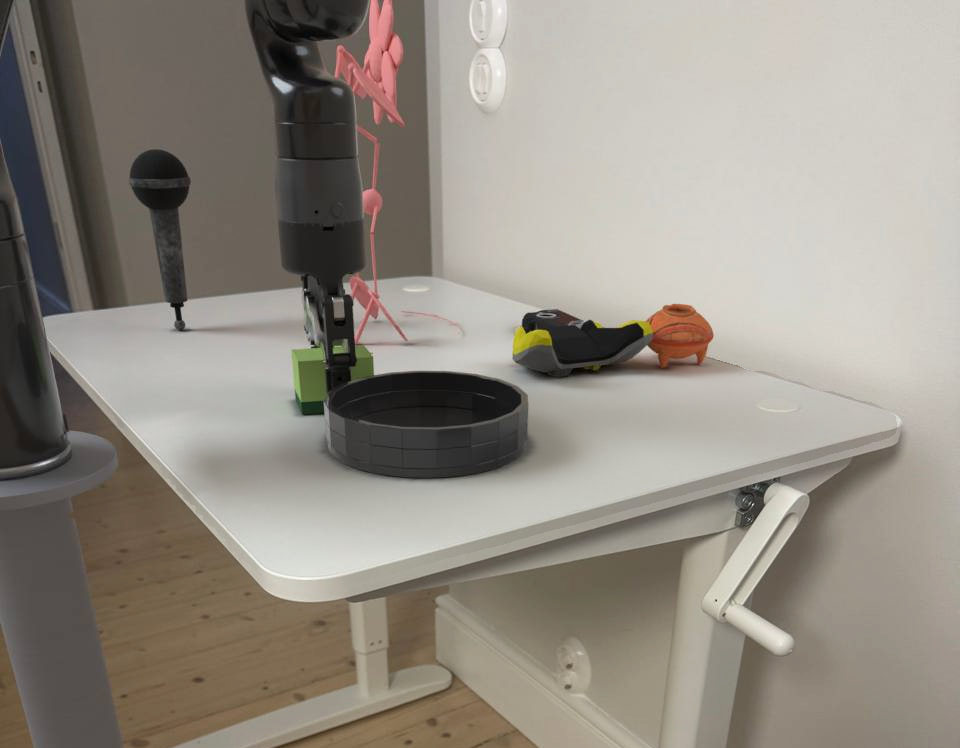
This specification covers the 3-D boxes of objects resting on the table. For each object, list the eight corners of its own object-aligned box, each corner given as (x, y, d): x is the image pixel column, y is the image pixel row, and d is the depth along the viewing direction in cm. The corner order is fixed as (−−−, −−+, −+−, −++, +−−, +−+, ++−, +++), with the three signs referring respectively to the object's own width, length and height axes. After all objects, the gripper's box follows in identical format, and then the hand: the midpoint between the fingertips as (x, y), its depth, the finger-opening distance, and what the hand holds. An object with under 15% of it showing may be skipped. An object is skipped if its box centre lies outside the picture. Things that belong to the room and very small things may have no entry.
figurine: (362, 362, 109) (342, -18, 91) (320, 314, 130) (298, -2, 112) (493, 353, 113) (499, -13, 95) (432, 307, 134) (428, 1, 117)
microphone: (139, 332, 120) (110, 149, 110) (177, 321, 125) (152, 146, 115) (184, 339, 117) (158, 152, 107) (220, 327, 123) (199, 148, 113)
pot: (705, 351, 113) (716, 294, 109) (708, 385, 108) (719, 327, 103) (635, 346, 114) (643, 289, 109) (635, 379, 108) (643, 321, 104)
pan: (347, 487, 76) (344, 437, 74) (314, 421, 91) (310, 377, 89) (555, 466, 81) (557, 419, 79) (492, 406, 95) (493, 365, 93)
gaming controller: (656, 374, 106) (608, 353, 113) (662, 322, 103) (612, 303, 111) (532, 390, 100) (490, 366, 108) (534, 334, 97) (491, 314, 105)
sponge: (302, 415, 92) (297, 361, 90) (295, 401, 96) (291, 349, 93) (375, 409, 94) (373, 356, 92) (366, 396, 98) (364, 345, 95)
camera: (548, 325, 114) (514, 308, 123) (549, 349, 116) (515, 331, 125) (598, 317, 116) (560, 301, 125) (598, 341, 117) (561, 323, 126)
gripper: (268, 205, 91) (283, 379, 100) (288, 225, 80) (303, 421, 88) (348, 203, 93) (357, 374, 101) (379, 223, 82) (386, 415, 90)
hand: (332, 396), depth 95 cm, fingers open, 8 cm apart
